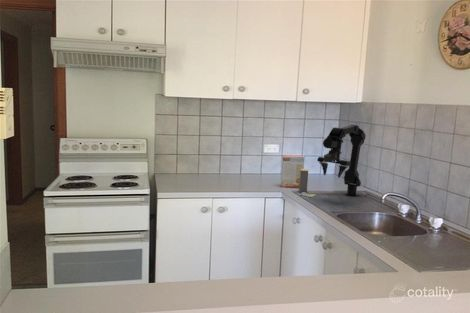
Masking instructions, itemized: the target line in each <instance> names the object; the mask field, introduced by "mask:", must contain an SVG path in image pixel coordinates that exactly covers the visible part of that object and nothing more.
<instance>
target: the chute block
mask: <svg viewBox="0 0 470 313" xmlns="http://www.w3.org/2000/svg"><path fill="white" fill-rule="evenodd" d="M308 181H309V170H308V169H306V168H304V169H300V182H299V188H298V192H307V193H308Z"/></svg>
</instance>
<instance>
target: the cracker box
mask: <svg viewBox="0 0 470 313" xmlns="http://www.w3.org/2000/svg"><path fill="white" fill-rule="evenodd" d="M304 167H305V156H303V155H293V154H288V155H287V154H282V155H281V174H280V175H281V176H280V186H281V188H295V187H297V189H299V182H300V169H305V168H304Z"/></svg>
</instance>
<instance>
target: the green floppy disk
mask: <svg viewBox="0 0 470 313" xmlns="http://www.w3.org/2000/svg"><path fill="white" fill-rule="evenodd" d="M299 195H303V196H302V197H304V196H307V197H306V198H310V197H312V198H314V197H316V194H314V193H308V192H307V193H299Z"/></svg>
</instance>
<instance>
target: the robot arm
mask: <svg viewBox="0 0 470 313" xmlns="http://www.w3.org/2000/svg"><path fill="white" fill-rule="evenodd" d="M347 135H348V136H349V137H350V143H351V145H352V146H351V154H350V158H349V160H350V161H349V160H343V159H341V158H340V157H341V155H342V144H343V143H344V140H343V139H344V138H346V136H347ZM365 141H366V133H365V130H363V129H361V128H360V126H359V125H357V124H349V125H346V126H343V127H335V126H334V127H332V128H331V130H330V132H329V133H328V135H327V137H326V138H325V139H323V141H322V146H323V147H324V148H325V149H328V152H327V153H326V154H324V155H323V156H319V157H318V158H317V162H318V163H319V164H320V165H321V167H322V171H323V175H324V176H326V174H327V170H328V165H329V163H332V164H338V174H337V175H338V176H337V177H338V178H340V177H341V175H343V173H344V176H343V182H344V185H347V189H346V193H345V195H346V196H353V197H357V196H358V195H359V193H357V190H358V187H361V184H362V182H361V179H360V174H359V171H358V167H359V166H358V164H359V159H360V153H361V148H362V146H363V144H364V143H365ZM329 149H330V150H329ZM347 168H348V169H347ZM346 169H347V170H346Z"/></svg>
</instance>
